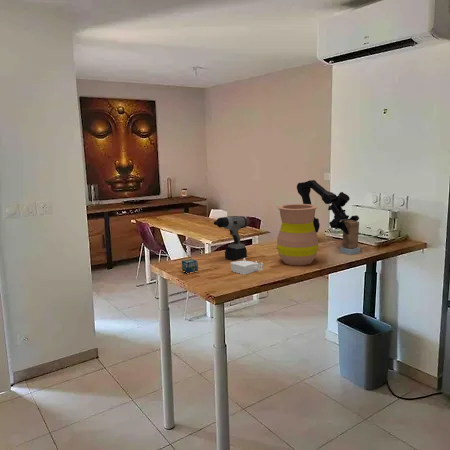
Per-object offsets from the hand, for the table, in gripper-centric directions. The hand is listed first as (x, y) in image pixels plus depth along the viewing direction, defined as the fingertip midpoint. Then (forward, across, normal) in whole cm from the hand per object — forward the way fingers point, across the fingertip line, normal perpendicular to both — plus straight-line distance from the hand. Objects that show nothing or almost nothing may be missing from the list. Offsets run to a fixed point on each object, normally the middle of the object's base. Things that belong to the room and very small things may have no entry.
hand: (351, 233), depth 242 cm
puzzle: (-6, +92, -24) cm, 95 cm away
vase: (+6, +36, -12) cm, 38 cm away
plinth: (+7, 0, -9) cm, 12 cm away
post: (+5, 0, -7) cm, 8 cm away
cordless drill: (-12, +62, -30) cm, 70 cm away
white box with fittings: (+4, +66, -14) cm, 67 cm away
